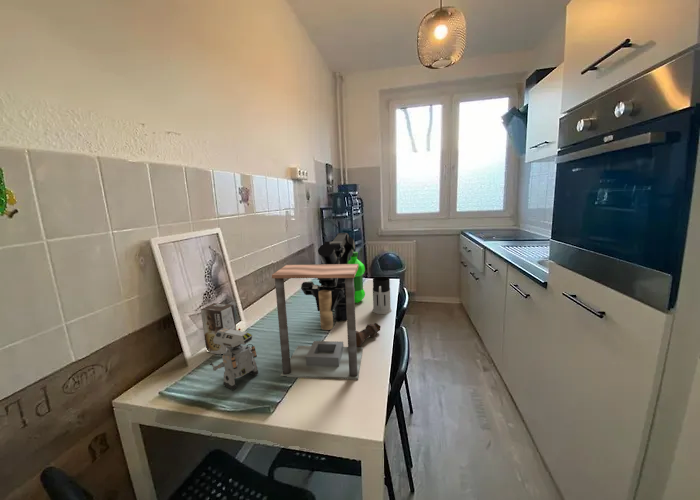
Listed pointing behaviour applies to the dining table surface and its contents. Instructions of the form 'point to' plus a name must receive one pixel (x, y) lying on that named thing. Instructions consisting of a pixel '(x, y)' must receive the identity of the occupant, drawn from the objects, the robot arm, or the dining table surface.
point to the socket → (325, 359)
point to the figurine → (235, 355)
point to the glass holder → (381, 295)
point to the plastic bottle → (358, 278)
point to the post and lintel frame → (297, 362)
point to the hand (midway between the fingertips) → (325, 310)
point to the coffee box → (217, 324)
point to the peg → (325, 309)
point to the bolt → (366, 333)
